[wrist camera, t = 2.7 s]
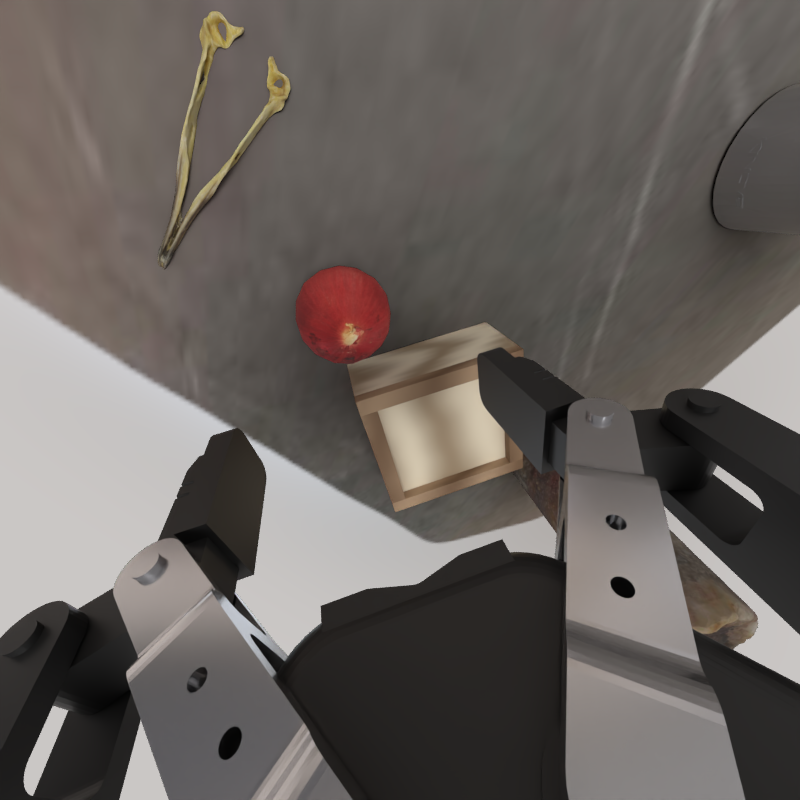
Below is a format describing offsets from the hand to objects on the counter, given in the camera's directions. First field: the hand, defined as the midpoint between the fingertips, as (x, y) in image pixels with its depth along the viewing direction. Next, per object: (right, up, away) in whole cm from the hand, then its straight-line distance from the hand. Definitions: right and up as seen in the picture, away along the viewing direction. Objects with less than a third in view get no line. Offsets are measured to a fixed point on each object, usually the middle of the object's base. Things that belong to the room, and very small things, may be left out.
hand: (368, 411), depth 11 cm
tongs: (-10, +14, +8) cm, 18 cm away
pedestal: (+4, 0, +19) cm, 19 cm away
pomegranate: (-3, +8, +13) cm, 15 cm away
